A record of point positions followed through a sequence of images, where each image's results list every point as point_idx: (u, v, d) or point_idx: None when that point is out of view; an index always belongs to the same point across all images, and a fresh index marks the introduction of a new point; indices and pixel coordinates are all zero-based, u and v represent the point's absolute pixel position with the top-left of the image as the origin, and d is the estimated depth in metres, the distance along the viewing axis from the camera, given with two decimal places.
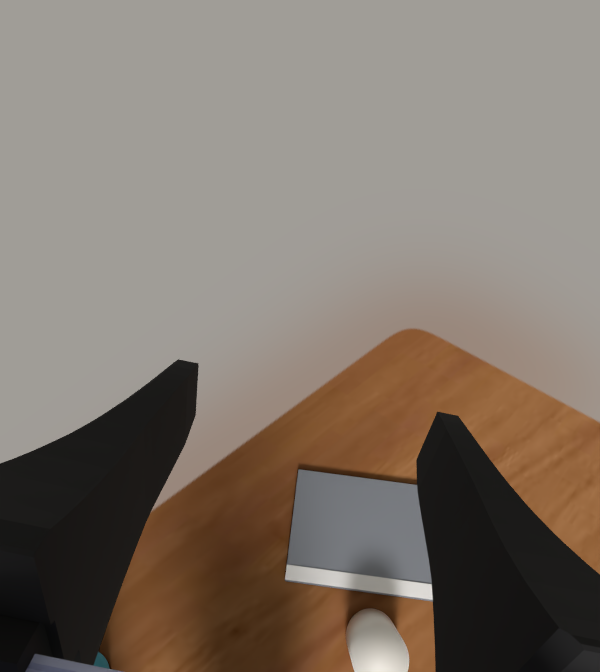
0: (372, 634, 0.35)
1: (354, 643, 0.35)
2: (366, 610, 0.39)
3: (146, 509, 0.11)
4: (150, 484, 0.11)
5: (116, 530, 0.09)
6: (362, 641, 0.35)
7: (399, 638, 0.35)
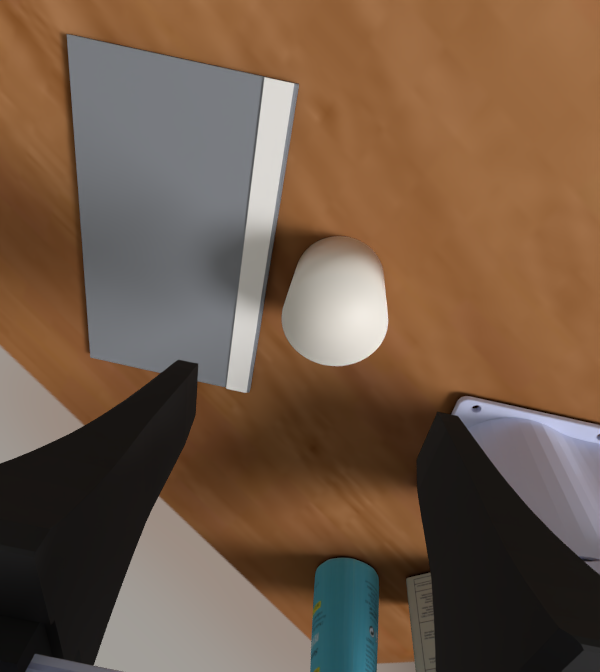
0: (293, 329, 0.19)
1: None
2: None
3: (146, 509, 0.11)
4: (150, 484, 0.11)
5: (116, 530, 0.09)
6: (303, 346, 0.20)
7: (303, 285, 0.18)
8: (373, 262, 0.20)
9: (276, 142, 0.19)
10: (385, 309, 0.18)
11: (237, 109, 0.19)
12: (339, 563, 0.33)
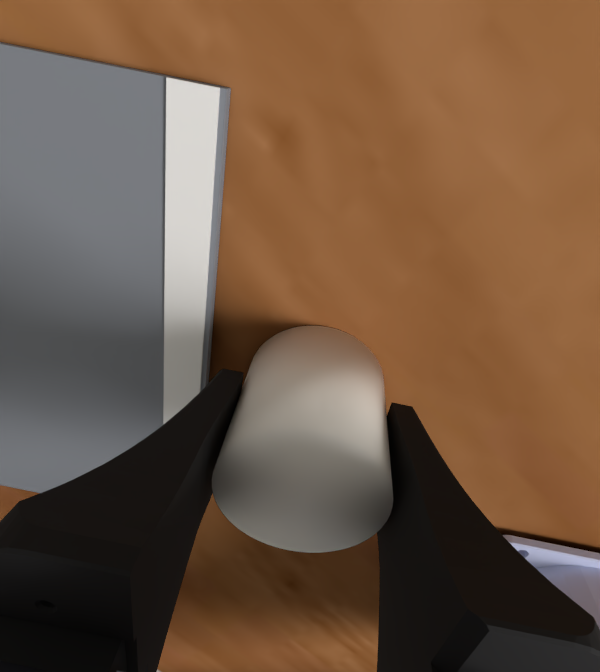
0: (233, 504, 0.11)
1: None
2: None
3: (198, 520, 0.11)
4: (203, 495, 0.11)
5: (179, 543, 0.09)
6: (252, 526, 0.12)
7: (242, 445, 0.10)
8: (367, 377, 0.13)
9: (198, 187, 0.11)
10: (388, 483, 0.10)
11: (127, 133, 0.11)
12: None
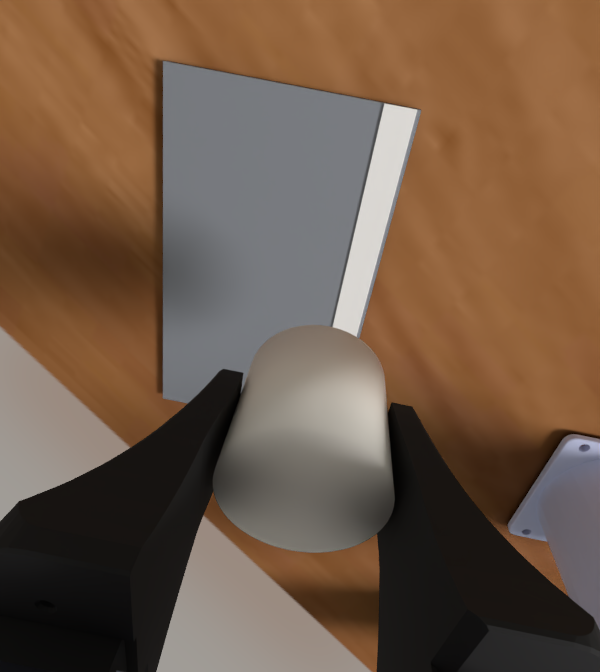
0: (234, 503, 0.11)
1: None
2: None
3: (198, 519, 0.11)
4: (202, 494, 0.11)
5: (179, 543, 0.09)
6: (253, 526, 0.12)
7: (243, 444, 0.10)
8: (368, 376, 0.12)
9: (390, 173, 0.17)
10: (390, 482, 0.10)
11: (349, 138, 0.17)
12: None
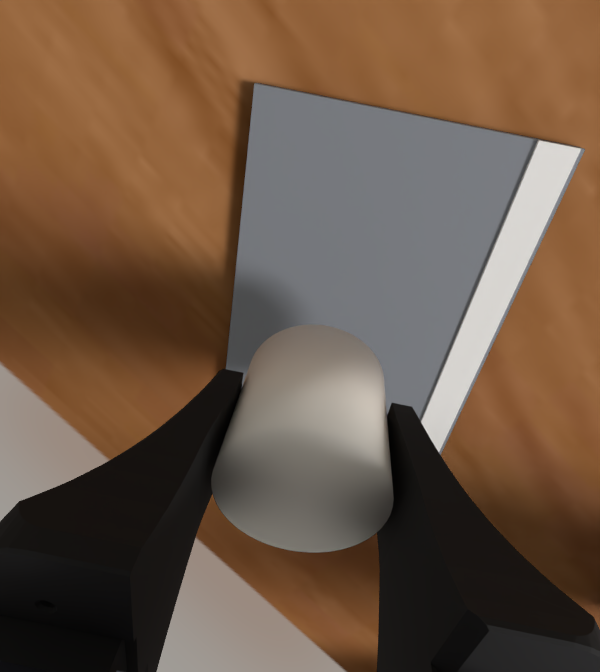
0: (233, 503, 0.11)
1: None
2: None
3: (198, 520, 0.11)
4: (203, 495, 0.11)
5: (179, 543, 0.09)
6: (252, 526, 0.12)
7: (242, 444, 0.10)
8: (367, 376, 0.12)
9: (532, 224, 0.14)
10: (388, 482, 0.10)
11: (485, 182, 0.14)
12: None
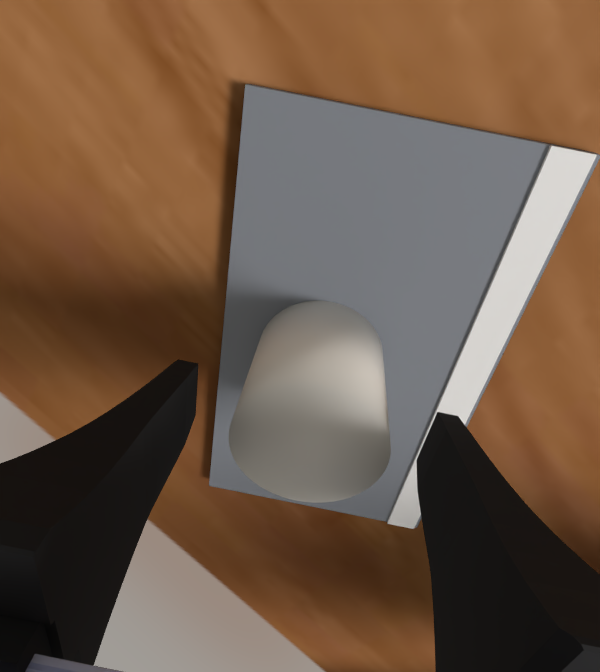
0: (248, 456, 0.13)
1: None
2: None
3: (146, 509, 0.11)
4: (150, 484, 0.11)
5: (116, 530, 0.09)
6: (264, 477, 0.13)
7: (257, 399, 0.12)
8: (367, 345, 0.14)
9: (544, 235, 0.13)
10: (386, 433, 0.12)
11: (493, 190, 0.13)
12: None
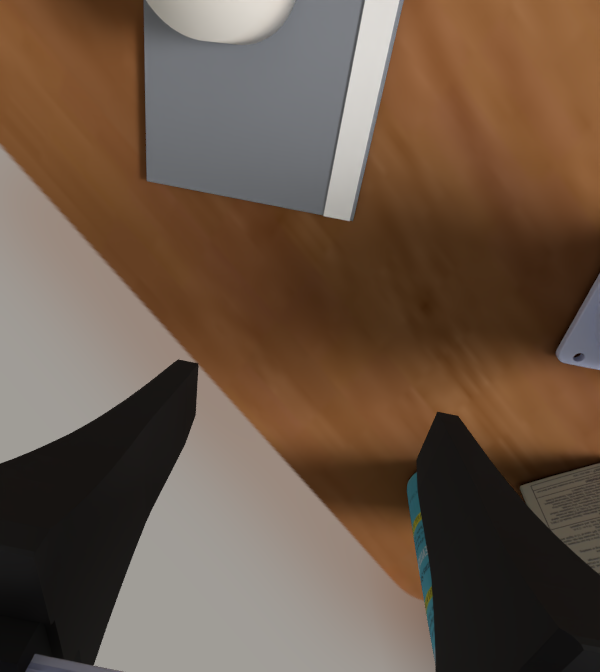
0: None
1: None
2: None
3: (146, 509, 0.11)
4: (150, 484, 0.11)
5: (116, 530, 0.09)
6: (166, 5, 0.13)
7: None
8: None
9: None
10: None
11: None
12: None
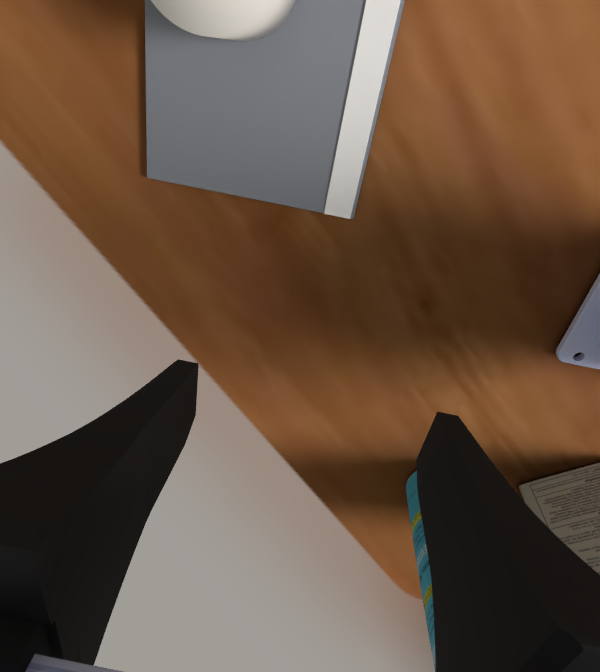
0: None
1: None
2: None
3: (146, 509, 0.11)
4: (150, 484, 0.11)
5: (116, 530, 0.09)
6: (168, 0, 0.13)
7: None
8: None
9: None
10: None
11: None
12: None
